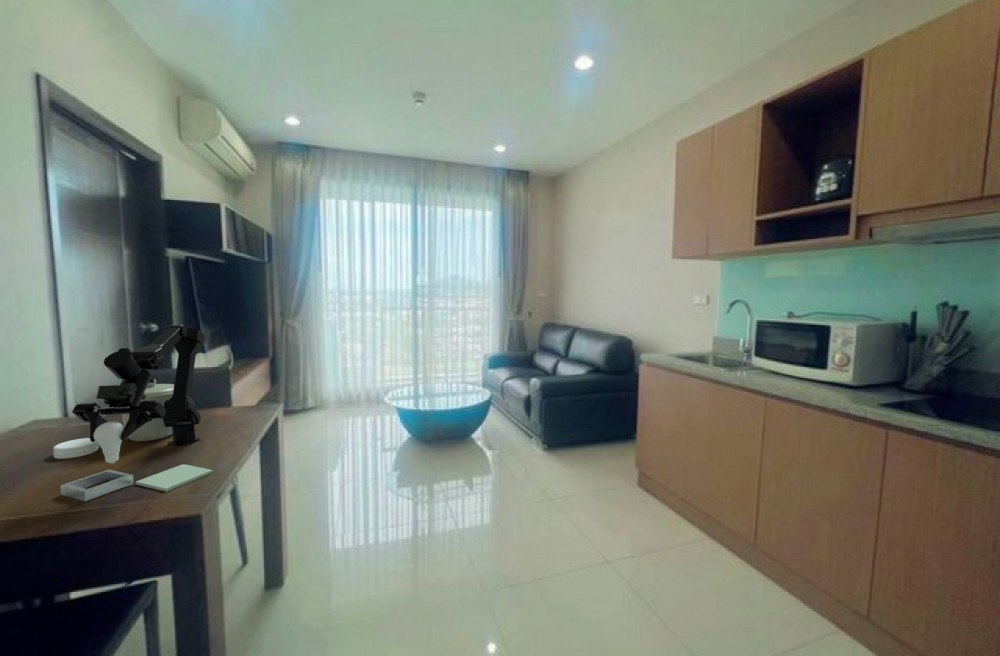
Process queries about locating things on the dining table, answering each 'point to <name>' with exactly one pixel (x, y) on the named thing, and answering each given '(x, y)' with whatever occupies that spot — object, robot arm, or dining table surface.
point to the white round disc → (75, 448)
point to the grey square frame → (78, 486)
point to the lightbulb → (109, 439)
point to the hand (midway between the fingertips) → (107, 440)
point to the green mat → (174, 477)
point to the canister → (156, 426)
